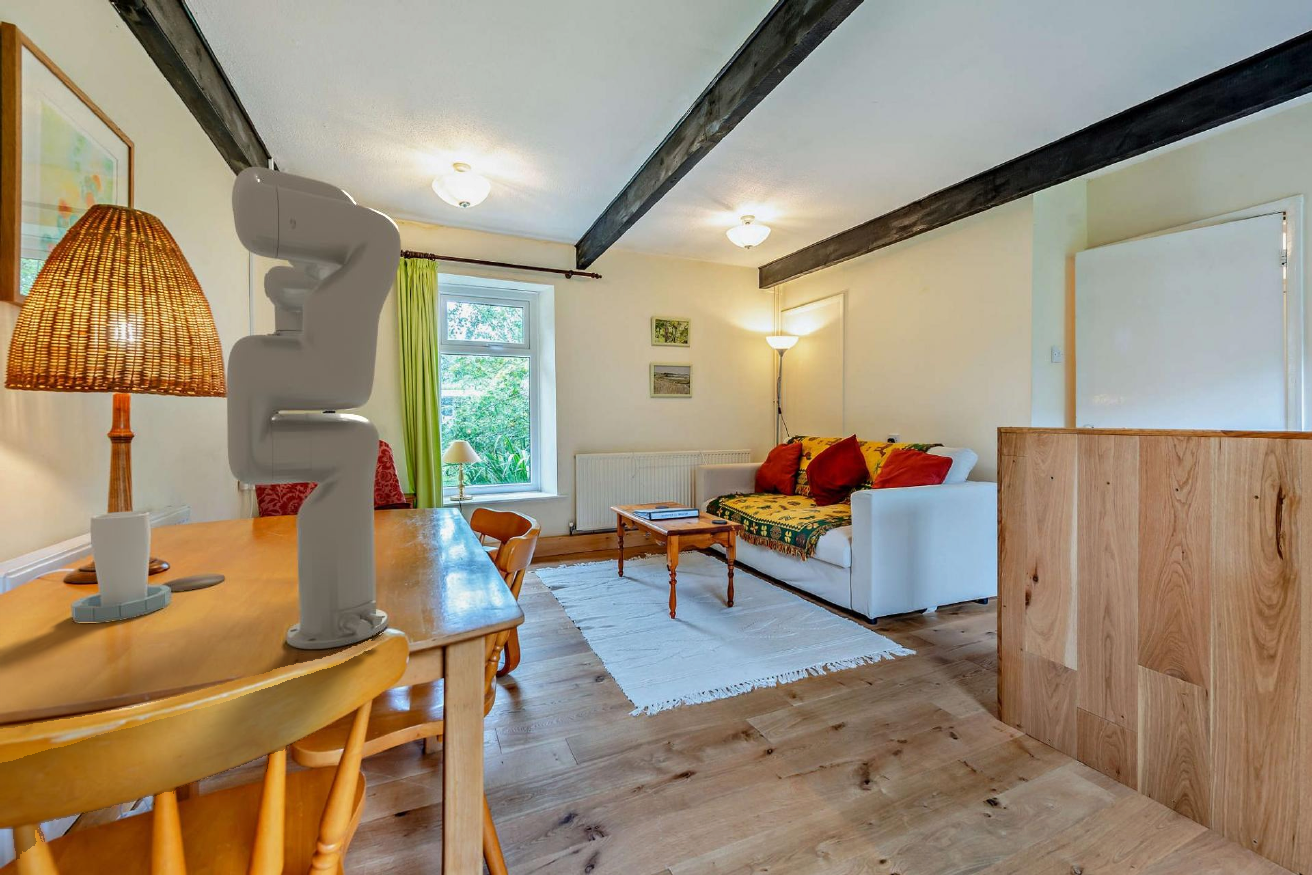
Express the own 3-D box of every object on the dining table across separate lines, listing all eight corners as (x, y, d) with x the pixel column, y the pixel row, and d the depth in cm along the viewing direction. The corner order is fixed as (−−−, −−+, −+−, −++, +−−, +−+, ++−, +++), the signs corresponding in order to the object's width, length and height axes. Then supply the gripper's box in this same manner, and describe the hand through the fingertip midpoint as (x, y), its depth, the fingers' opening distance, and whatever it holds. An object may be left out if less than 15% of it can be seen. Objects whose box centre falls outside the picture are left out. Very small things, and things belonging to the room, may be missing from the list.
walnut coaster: (232, 581, 100) (232, 579, 100) (169, 595, 93) (169, 592, 93) (214, 573, 105) (214, 571, 105) (154, 585, 98) (154, 583, 98)
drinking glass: (83, 611, 83) (79, 517, 82) (136, 597, 90) (132, 509, 89) (111, 616, 81) (107, 519, 81) (164, 601, 88) (160, 511, 87)
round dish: (179, 606, 87) (179, 592, 87) (82, 629, 78) (81, 613, 78) (158, 594, 93) (158, 581, 93) (66, 614, 84) (65, 599, 84)
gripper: (254, 336, 93) (257, 433, 94) (355, 346, 107) (357, 430, 108) (237, 339, 97) (240, 432, 98) (337, 349, 111) (339, 430, 112)
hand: (302, 431), depth 103 cm, fingers open, 9 cm apart
